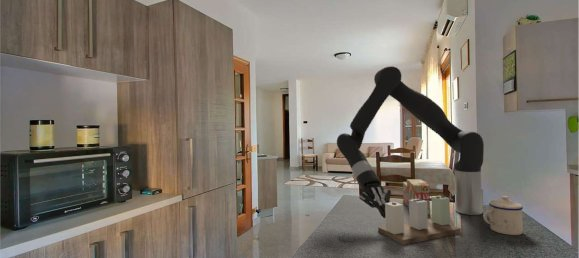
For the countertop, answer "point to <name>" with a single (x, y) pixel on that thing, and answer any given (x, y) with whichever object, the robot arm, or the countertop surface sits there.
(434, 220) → the two dot key
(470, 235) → the countertop surface
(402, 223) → the one dot key
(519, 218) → the teacup with lid
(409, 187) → the stack of blocks
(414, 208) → the three dot key
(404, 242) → the brown wooden board
